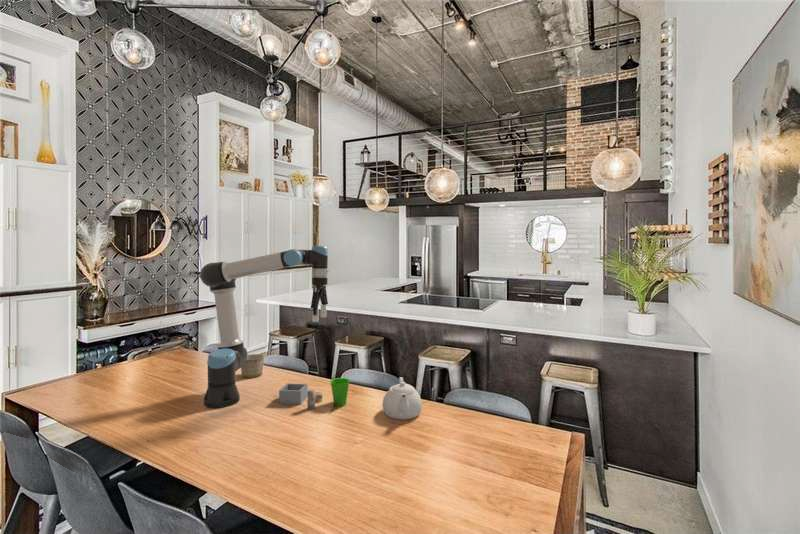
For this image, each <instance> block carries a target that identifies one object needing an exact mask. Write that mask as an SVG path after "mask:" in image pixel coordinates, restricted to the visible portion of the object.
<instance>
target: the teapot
mask: <svg viewBox="0 0 800 534" xmlns="http://www.w3.org/2000/svg"><path fill="white" fill-rule="evenodd" d="M398 380H399V383H397V384H394V385H392V386H391V387H390V388H389V389H388V390H387V392H386V393H385V395H384V397H383V400H382V411H383V413H384V414H385V416H387V417H388V418H390V419H395V420H400V421H401V420H411V419H414V418H415V419H416V418H417V417H418V416H419V415H420V414H421V412H422V408H423V407H422V406H423V403H422V399H421V395H420V394H419V393H418V391H417V390H416V388H415V387H414V386H412V385H411V384H408V383H406V382H405V381H404V377H401V376H400V377H399V379H398Z"/></svg>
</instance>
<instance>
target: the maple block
mask: <svg viewBox="0 0 800 534" xmlns="http://www.w3.org/2000/svg"><path fill="white" fill-rule="evenodd" d="M322 401H323V392H322V391H320V392H316V391H315V403H316V402H322Z"/></svg>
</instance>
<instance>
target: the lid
mask: <svg viewBox="0 0 800 534" xmlns="http://www.w3.org/2000/svg"><path fill="white" fill-rule="evenodd" d="M315 393H316V391H315V390H314V389H309V390H308V391H307V410H308V411H313V410H315V409H316V402H315Z"/></svg>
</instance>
